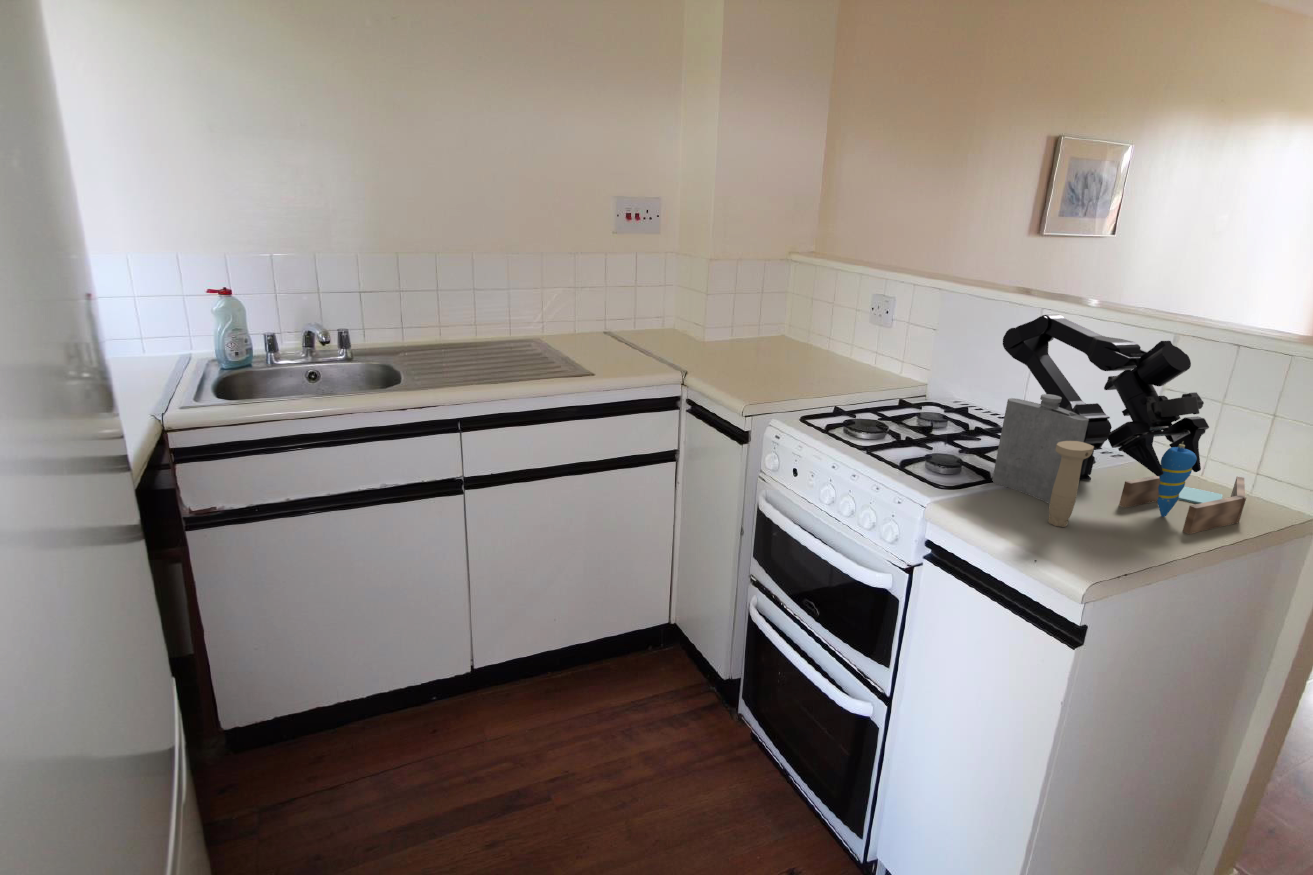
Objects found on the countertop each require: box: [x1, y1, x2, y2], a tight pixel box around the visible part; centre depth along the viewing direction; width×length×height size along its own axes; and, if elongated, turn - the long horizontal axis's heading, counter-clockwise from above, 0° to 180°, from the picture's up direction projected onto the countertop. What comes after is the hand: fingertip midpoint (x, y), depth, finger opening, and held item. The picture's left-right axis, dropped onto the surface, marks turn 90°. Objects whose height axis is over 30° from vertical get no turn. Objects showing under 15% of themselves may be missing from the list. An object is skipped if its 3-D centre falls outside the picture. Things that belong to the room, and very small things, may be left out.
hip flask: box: [991, 393, 1089, 505], centre depth 148 cm, size 16×4×20 cm, turn 32°
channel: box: [1118, 475, 1247, 535], centre depth 145 cm, size 25×26×5 cm
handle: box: [1048, 441, 1095, 528], centre depth 134 cm, size 5×6×15 cm
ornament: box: [1156, 442, 1197, 518], centre depth 139 cm, size 5×5×15 cm
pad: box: [1177, 485, 1223, 504], centre depth 152 cm, size 8×8×1 cm
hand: (1179, 473), depth 138 cm, fingers open, 9 cm apart
